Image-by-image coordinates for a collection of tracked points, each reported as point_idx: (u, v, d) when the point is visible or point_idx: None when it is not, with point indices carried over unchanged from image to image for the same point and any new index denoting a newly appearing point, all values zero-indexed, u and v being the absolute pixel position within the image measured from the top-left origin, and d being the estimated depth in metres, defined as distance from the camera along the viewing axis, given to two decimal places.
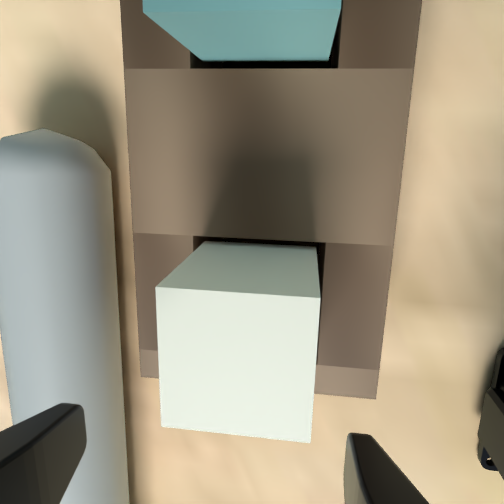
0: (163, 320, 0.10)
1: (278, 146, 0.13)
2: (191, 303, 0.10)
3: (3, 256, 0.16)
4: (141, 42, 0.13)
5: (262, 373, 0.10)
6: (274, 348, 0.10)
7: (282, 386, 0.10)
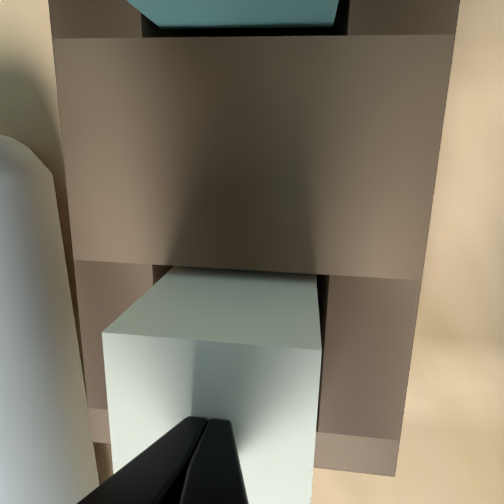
0: (113, 375, 0.08)
1: (264, 145, 0.09)
2: (149, 354, 0.07)
3: None
4: (74, 1, 0.09)
5: (245, 444, 0.08)
6: (259, 413, 0.07)
7: (270, 461, 0.08)
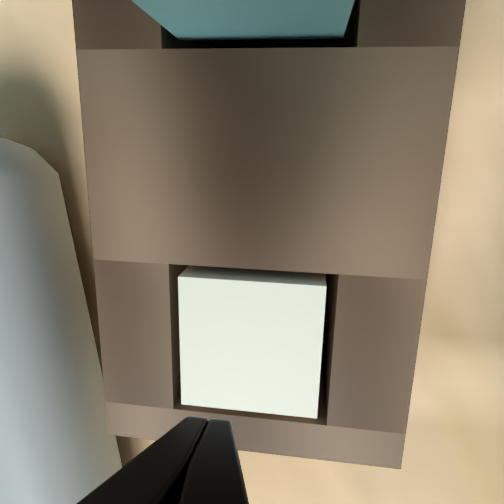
0: (184, 306, 0.11)
1: (277, 151, 0.10)
2: (210, 291, 0.11)
3: None
4: (97, 14, 0.10)
5: (273, 354, 0.11)
6: (284, 331, 0.11)
7: (291, 366, 0.11)
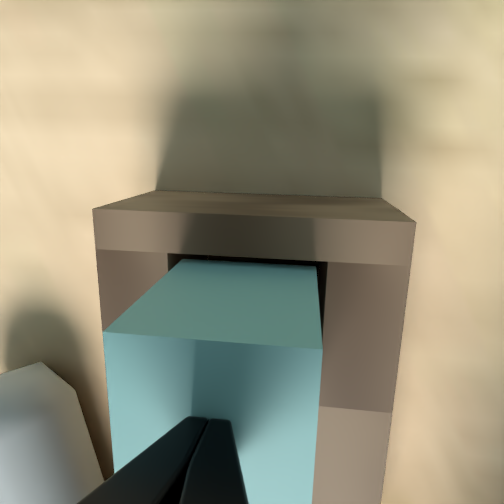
0: None
1: None
2: None
3: None
4: None
5: None
6: None
7: None
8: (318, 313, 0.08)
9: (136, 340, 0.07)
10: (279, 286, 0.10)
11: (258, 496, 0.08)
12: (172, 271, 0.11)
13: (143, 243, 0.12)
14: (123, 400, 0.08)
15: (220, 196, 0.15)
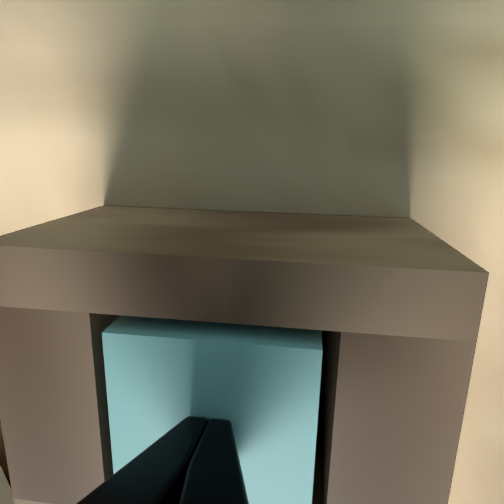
0: None
1: None
2: None
3: None
4: (35, 473, 0.09)
5: None
6: None
7: None
8: None
9: (135, 341, 0.07)
10: None
11: (258, 497, 0.08)
12: None
13: (52, 298, 0.07)
14: (122, 401, 0.08)
15: (187, 216, 0.11)
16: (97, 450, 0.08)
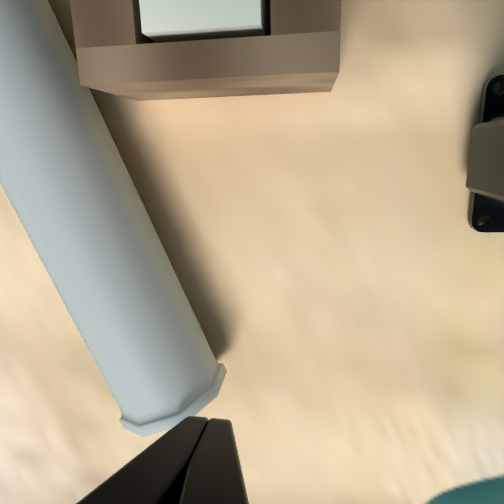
0: None
1: None
2: None
3: None
4: None
5: None
6: None
7: None
8: None
9: None
10: None
11: None
12: None
13: None
14: None
15: None
16: None
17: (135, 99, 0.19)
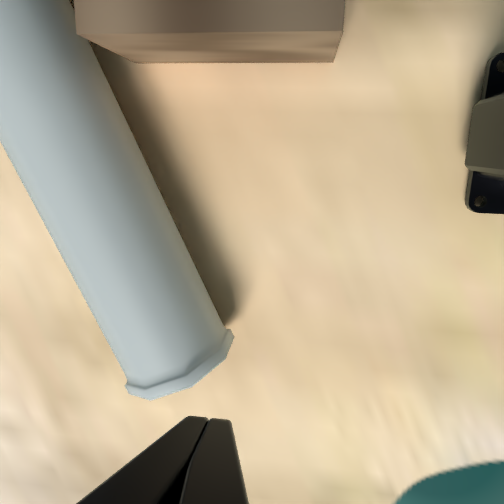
0: None
1: None
2: None
3: None
4: None
5: None
6: None
7: None
8: None
9: None
10: None
11: None
12: None
13: None
14: None
15: None
16: None
17: (133, 61, 0.18)
